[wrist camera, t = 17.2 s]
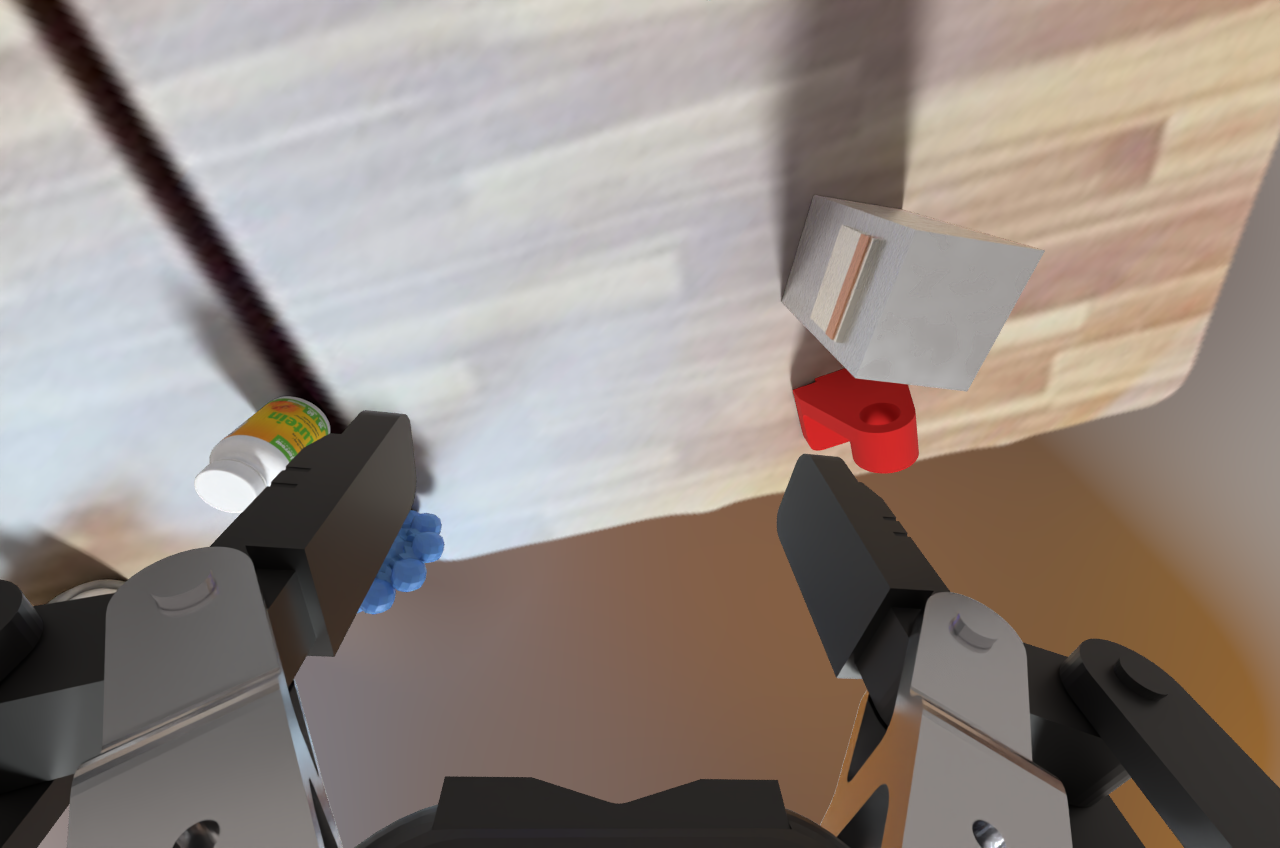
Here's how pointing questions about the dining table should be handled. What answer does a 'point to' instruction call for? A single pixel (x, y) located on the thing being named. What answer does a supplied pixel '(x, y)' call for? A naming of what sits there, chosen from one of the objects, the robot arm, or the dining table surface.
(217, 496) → the supplement bottle
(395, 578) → the grapes
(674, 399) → the dining table surface
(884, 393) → the bracket
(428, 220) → the dining table surface
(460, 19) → the dining table surface
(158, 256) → the dining table surface
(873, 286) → the dispenser
